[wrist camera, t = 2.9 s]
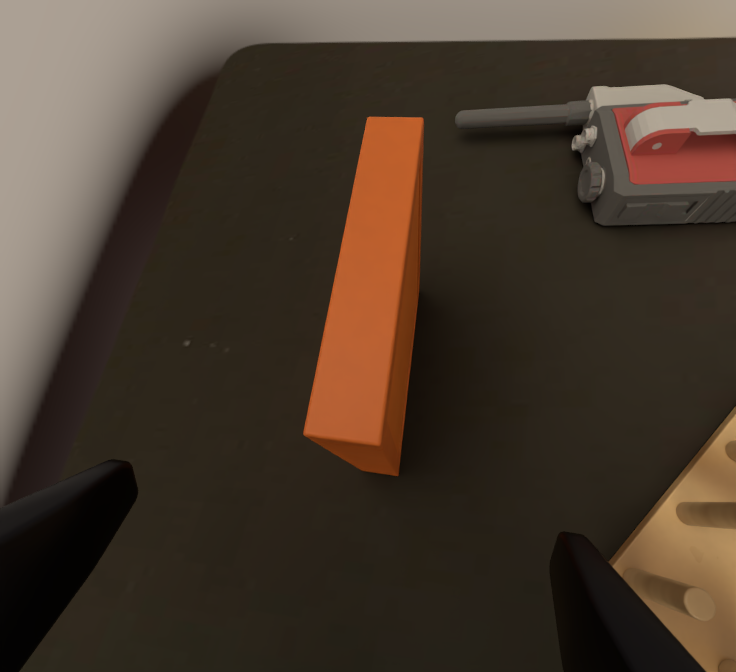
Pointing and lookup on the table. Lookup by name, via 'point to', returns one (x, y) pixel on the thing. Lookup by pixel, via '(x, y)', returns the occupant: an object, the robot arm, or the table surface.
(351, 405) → the lid
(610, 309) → the table surface
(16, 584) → the robot arm
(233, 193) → the table surface
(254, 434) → the table surface
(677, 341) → the table surface
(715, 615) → the rack
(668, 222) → the walkie-talkie
